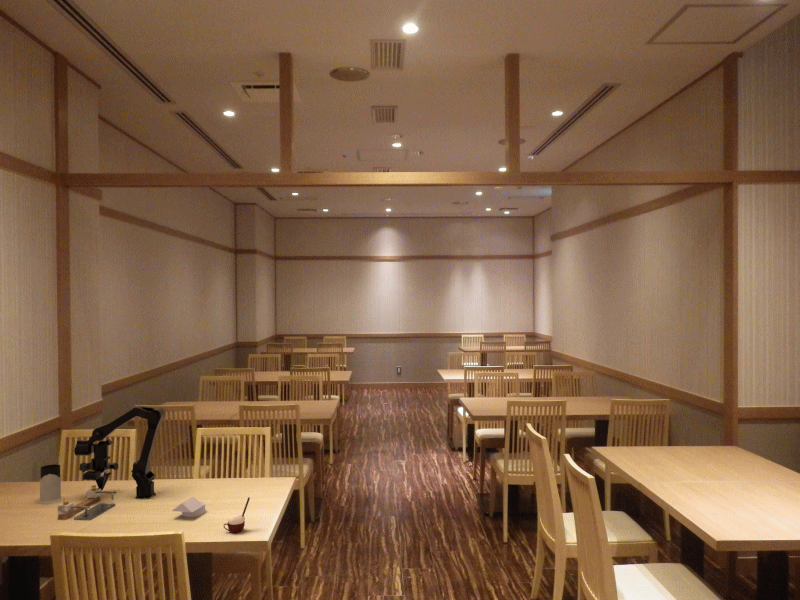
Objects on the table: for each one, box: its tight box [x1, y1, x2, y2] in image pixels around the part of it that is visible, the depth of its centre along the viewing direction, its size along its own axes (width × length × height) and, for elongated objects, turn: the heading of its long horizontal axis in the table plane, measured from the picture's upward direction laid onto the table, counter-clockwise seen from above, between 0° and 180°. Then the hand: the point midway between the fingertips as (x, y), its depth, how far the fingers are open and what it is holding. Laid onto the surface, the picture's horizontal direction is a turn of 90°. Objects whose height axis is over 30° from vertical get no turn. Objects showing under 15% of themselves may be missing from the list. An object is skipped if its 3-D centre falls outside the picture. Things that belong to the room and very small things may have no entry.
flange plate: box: [73, 502, 116, 521], centre depth 251 cm, size 7×18×1 cm, turn 176°
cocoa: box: [223, 496, 250, 534], centre depth 229 cm, size 10×6×12 cm, turn 87°
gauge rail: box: [57, 495, 101, 521], centre depth 254 cm, size 12×24×7 cm, turn 176°
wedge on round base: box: [171, 496, 206, 518], centre depth 247 cm, size 9×7×13 cm
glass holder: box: [38, 464, 63, 505], centre depth 268 cm, size 9×14×15 cm, turn 25°
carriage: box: [85, 484, 117, 500], centre depth 264 cm, size 12×4×6 cm, turn 86°
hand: (101, 490), depth 270 cm, fingers closed
